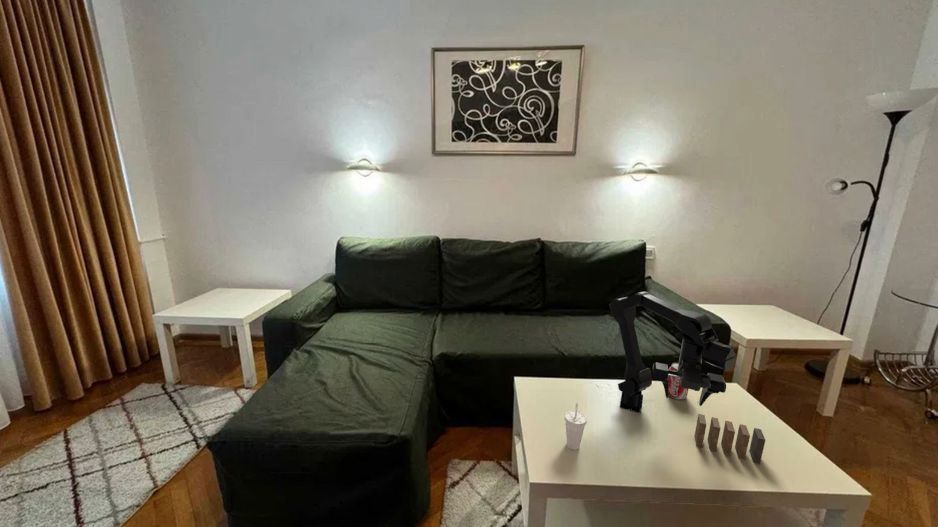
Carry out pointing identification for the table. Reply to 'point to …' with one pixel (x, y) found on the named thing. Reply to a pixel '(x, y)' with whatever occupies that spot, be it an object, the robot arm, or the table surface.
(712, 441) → the domino
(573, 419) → the smoothie
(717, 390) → the robot arm
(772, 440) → the table surface
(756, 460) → the domino
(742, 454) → the domino
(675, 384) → the soda can
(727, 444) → the domino
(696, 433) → the domino
